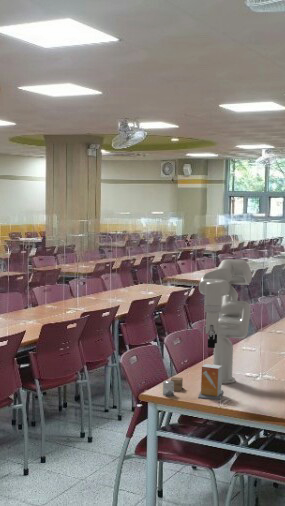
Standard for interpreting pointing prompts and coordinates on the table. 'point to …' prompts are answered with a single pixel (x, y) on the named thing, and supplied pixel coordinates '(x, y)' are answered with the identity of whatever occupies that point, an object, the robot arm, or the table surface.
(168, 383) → the grey metal cylinder
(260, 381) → the table surface
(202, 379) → the small box
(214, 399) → the slate mat
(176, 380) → the walnut block
